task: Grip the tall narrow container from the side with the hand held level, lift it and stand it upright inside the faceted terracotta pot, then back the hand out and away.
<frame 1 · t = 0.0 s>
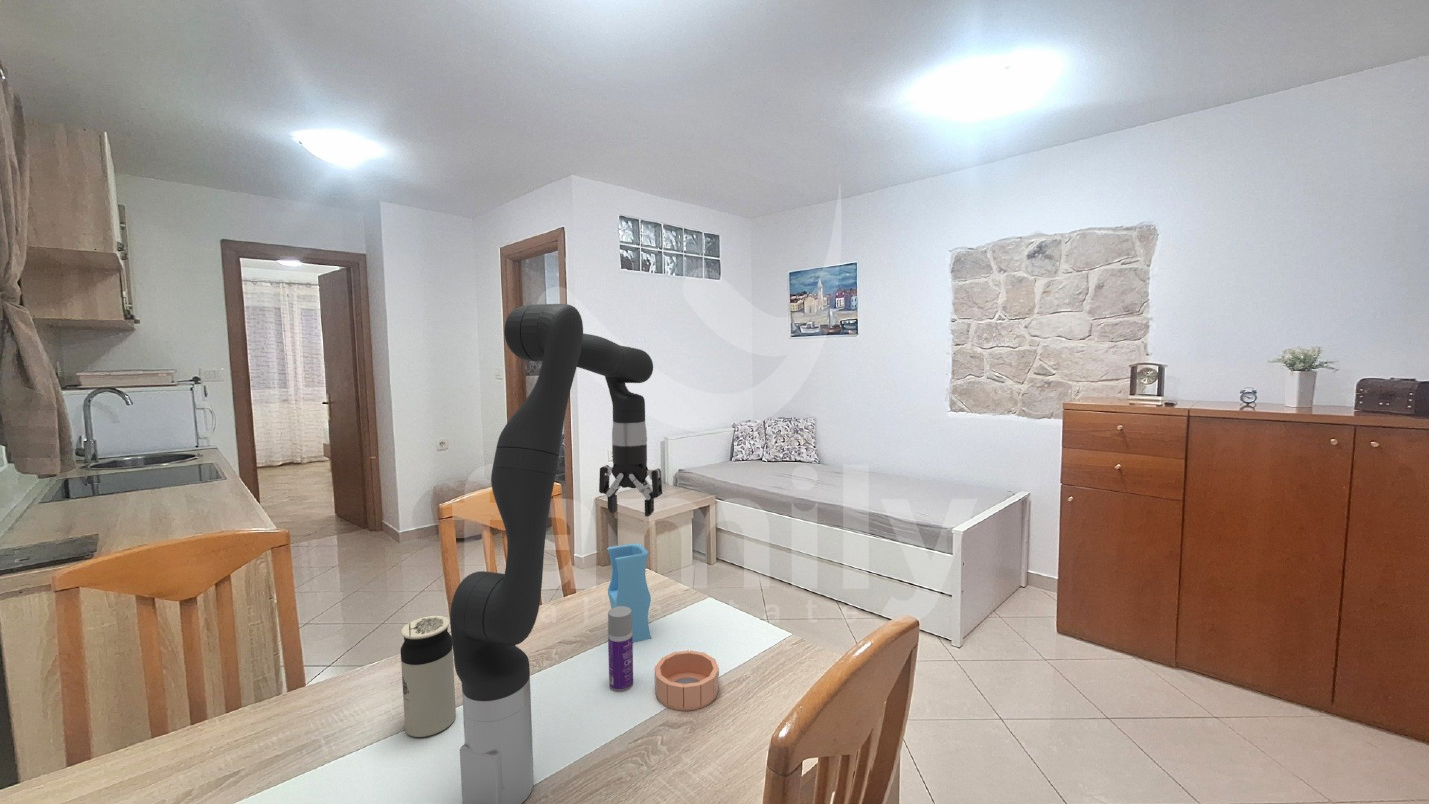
hand: (630, 513, 122), 29 cm above the table, tool pointing down, fingers open, 8 cm apart
faceted terracotta pot: (686, 690, 106), on the table
vase: (629, 635, 127), on the table
container: (621, 685, 108), on the table
travel mug: (431, 724, 97), on the table
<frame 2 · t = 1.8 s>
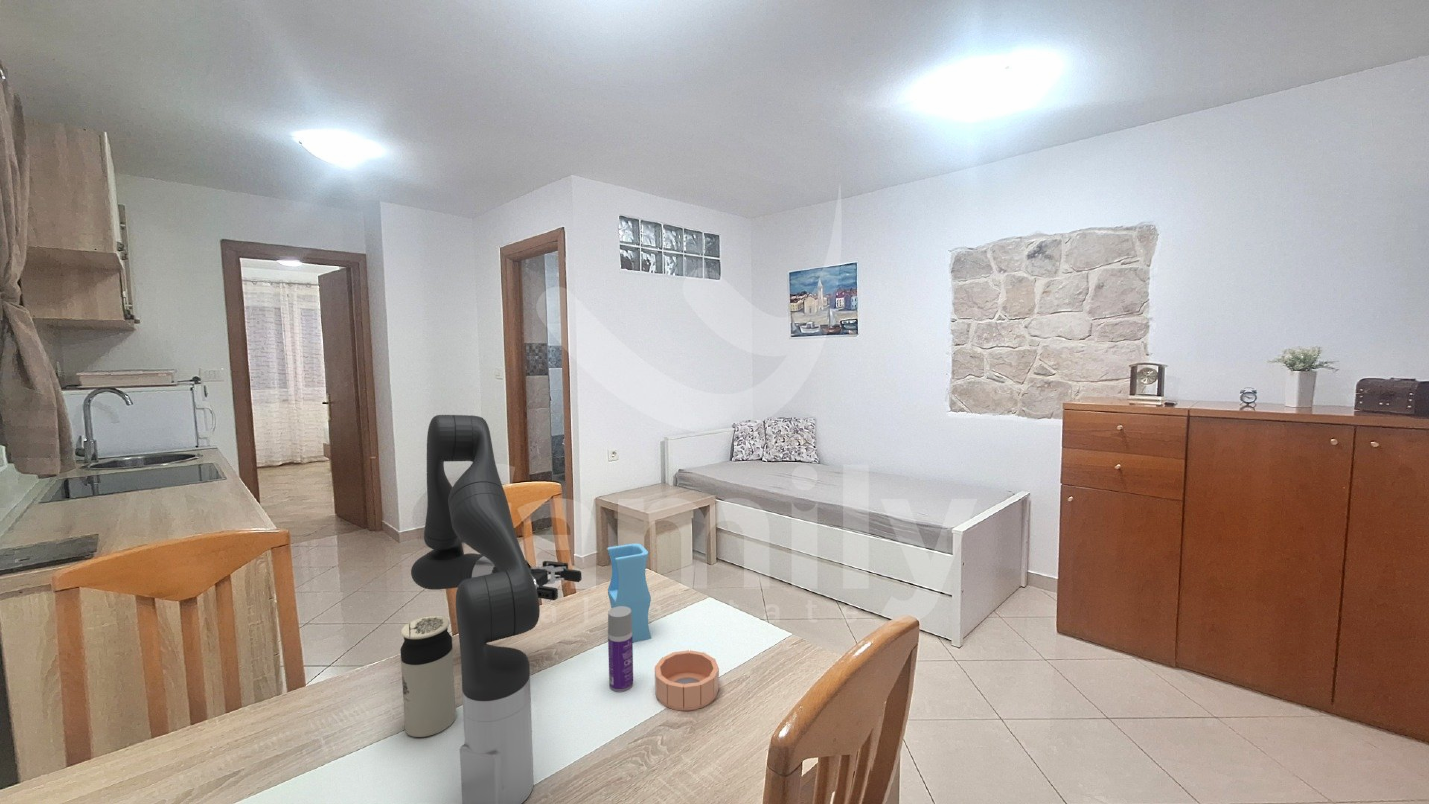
hand: (569, 585, 109), 19 cm above the table, tool horizontal, fingers open, 8 cm apart
nothing on the table moved.
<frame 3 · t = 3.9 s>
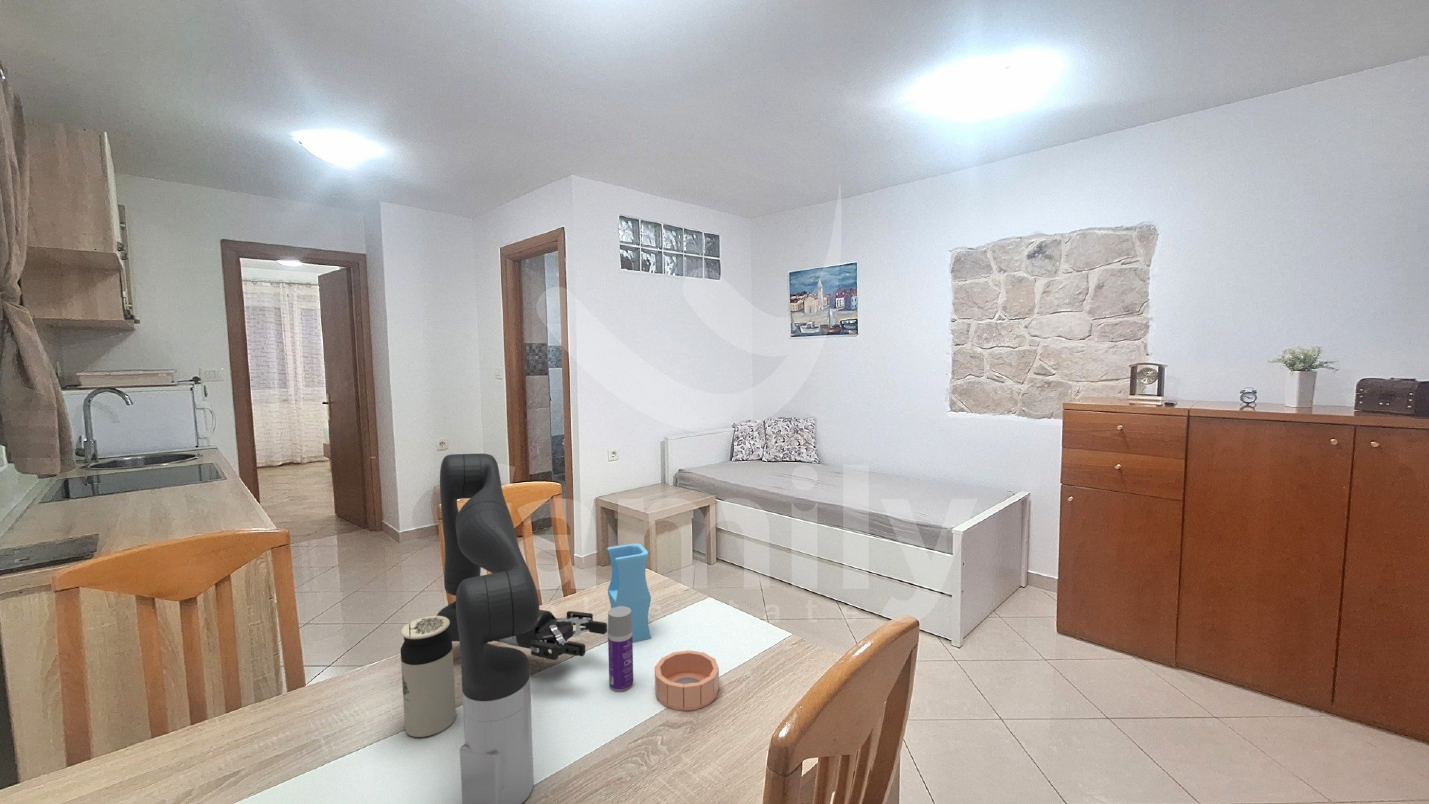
hand: (595, 639, 108), 9 cm above the table, tool horizontal, fingers open, 8 cm apart
nothing on the table moved.
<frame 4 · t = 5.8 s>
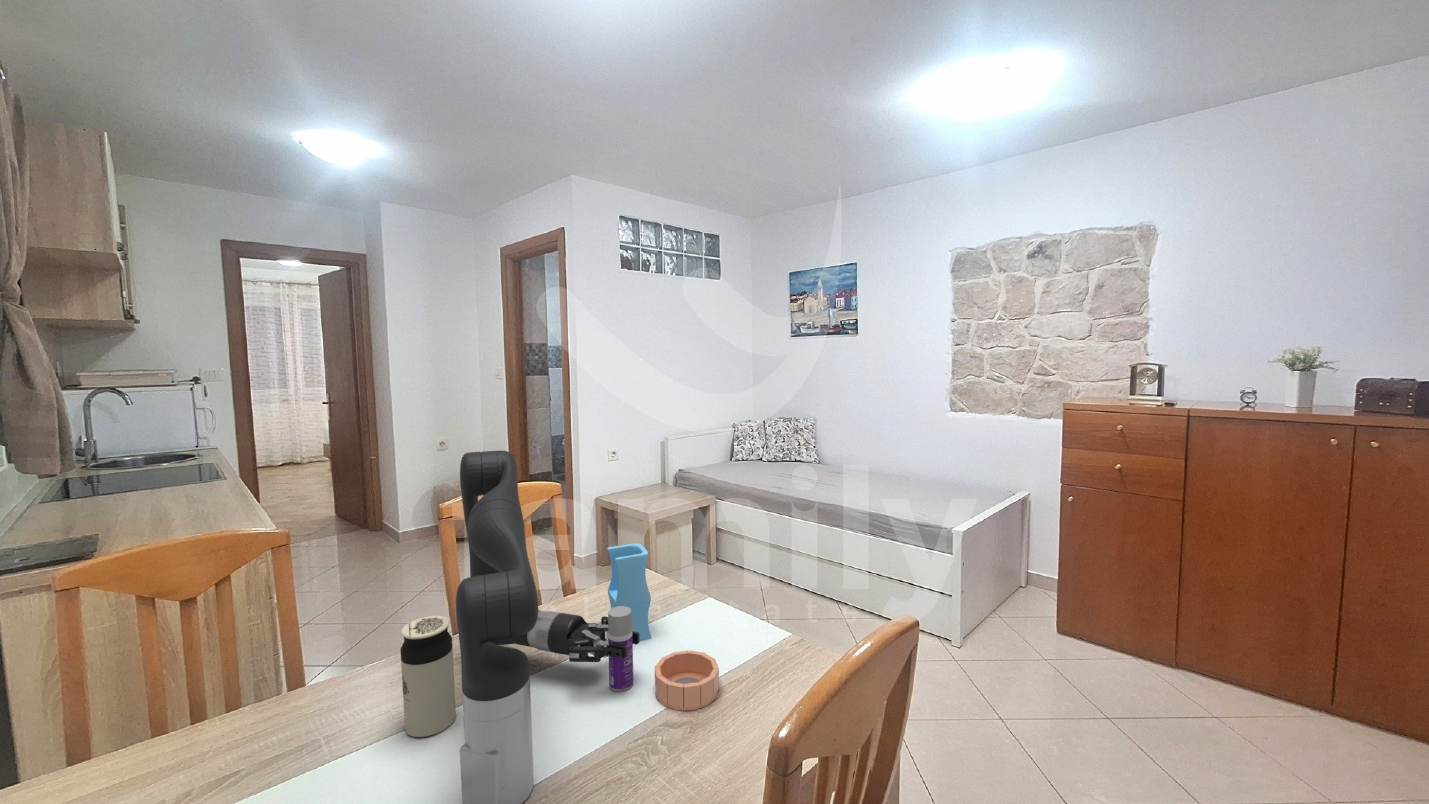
hand: (632, 645, 106), 9 cm above the table, tool horizontal, fingers closed on container, 4 cm apart
container: (621, 685, 108), on the table, touching gripper
everything else where it was.
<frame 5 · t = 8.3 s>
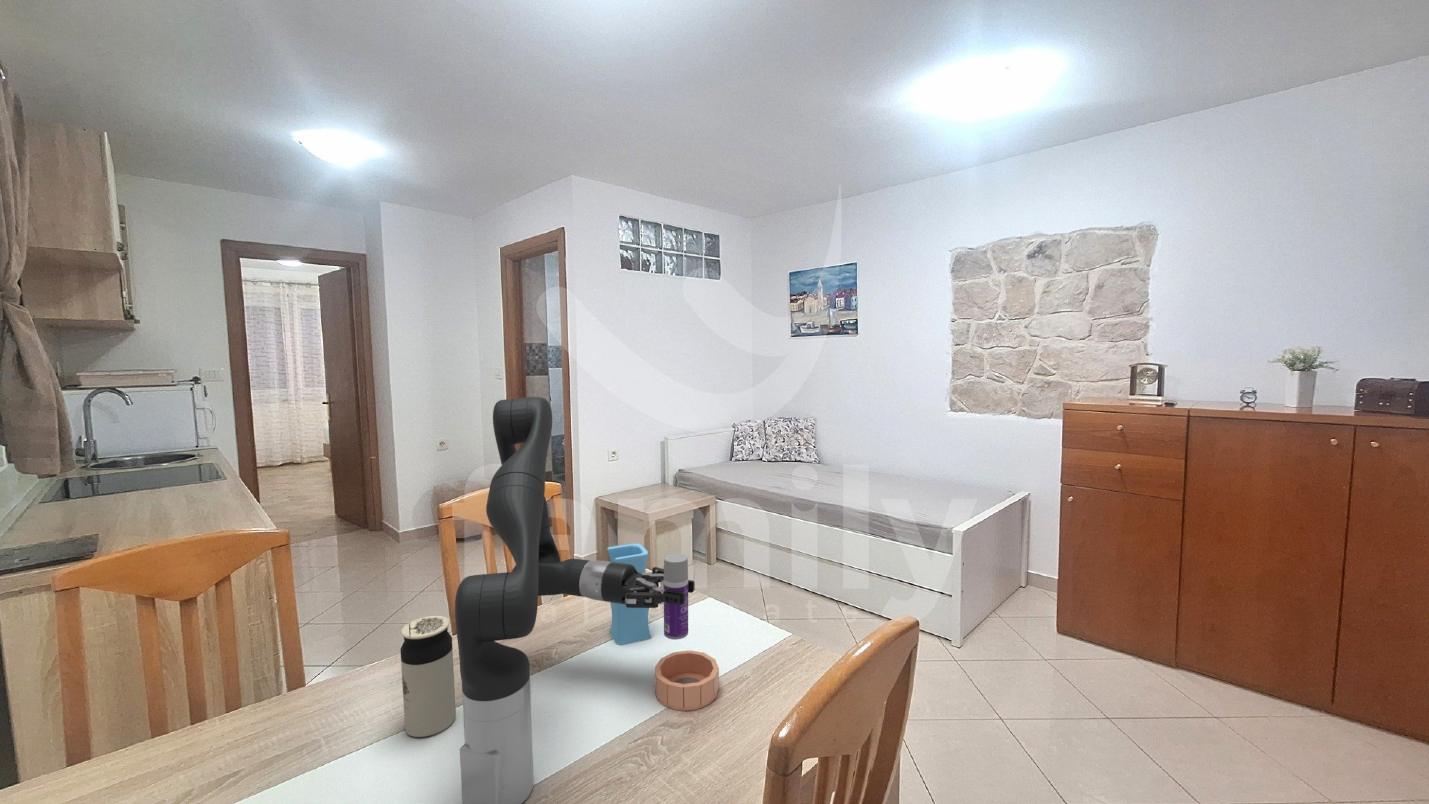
hand: (689, 592, 104), 20 cm above the table, tool horizontal, fingers closed on container, 4 cm apart
container: (676, 634, 105), point 11 cm above the table, touching gripper
everything else where it was.
when the fingers open (10 cm above the table, at t = 11.1 s): container drops 1 cm, resting on faceted terracotta pot.
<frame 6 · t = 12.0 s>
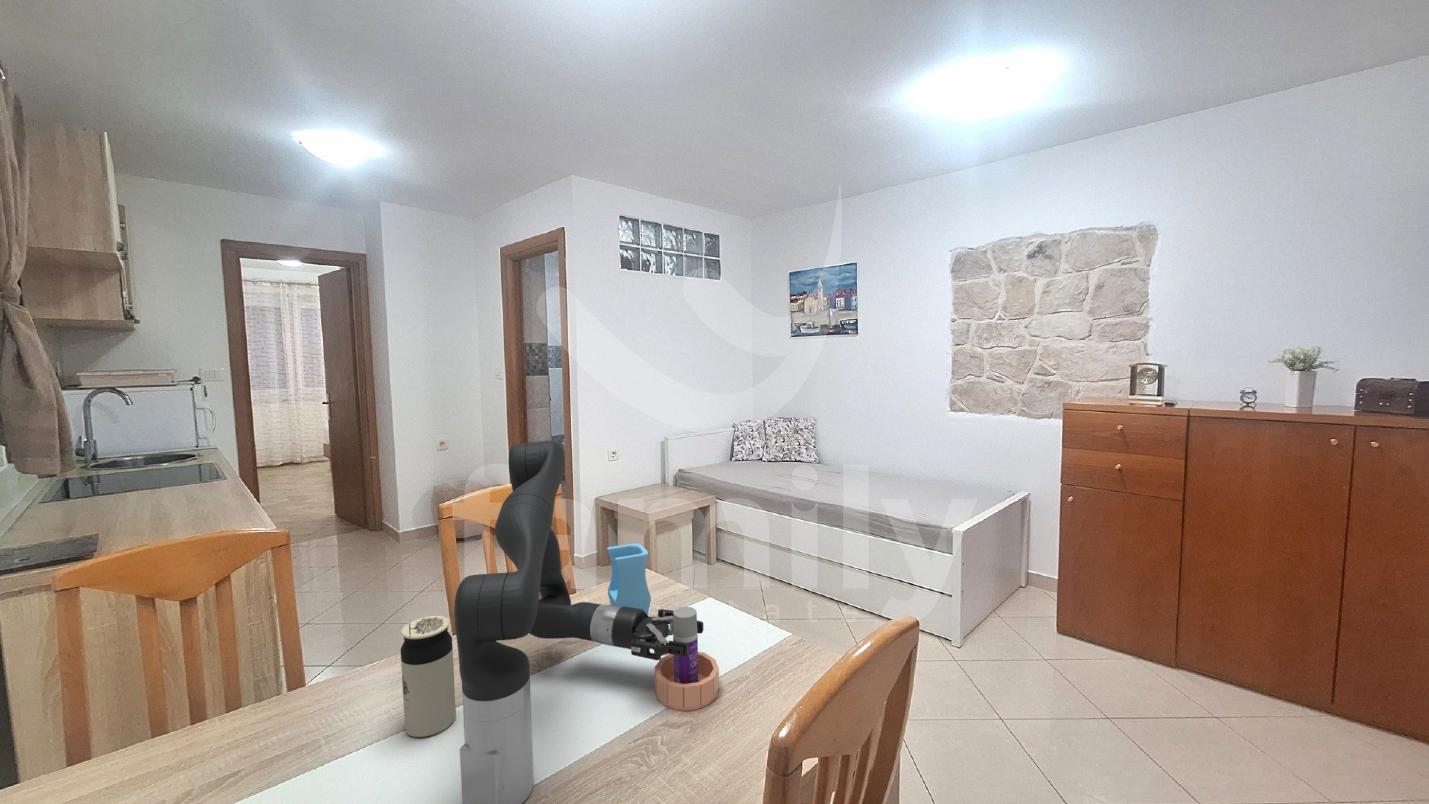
hand: (695, 638, 104), 11 cm above the table, tool horizontal, fingers open, 8 cm apart
container: (686, 687, 106), point 1 cm above the table, touching faceted terracotta pot
everything else where it was.
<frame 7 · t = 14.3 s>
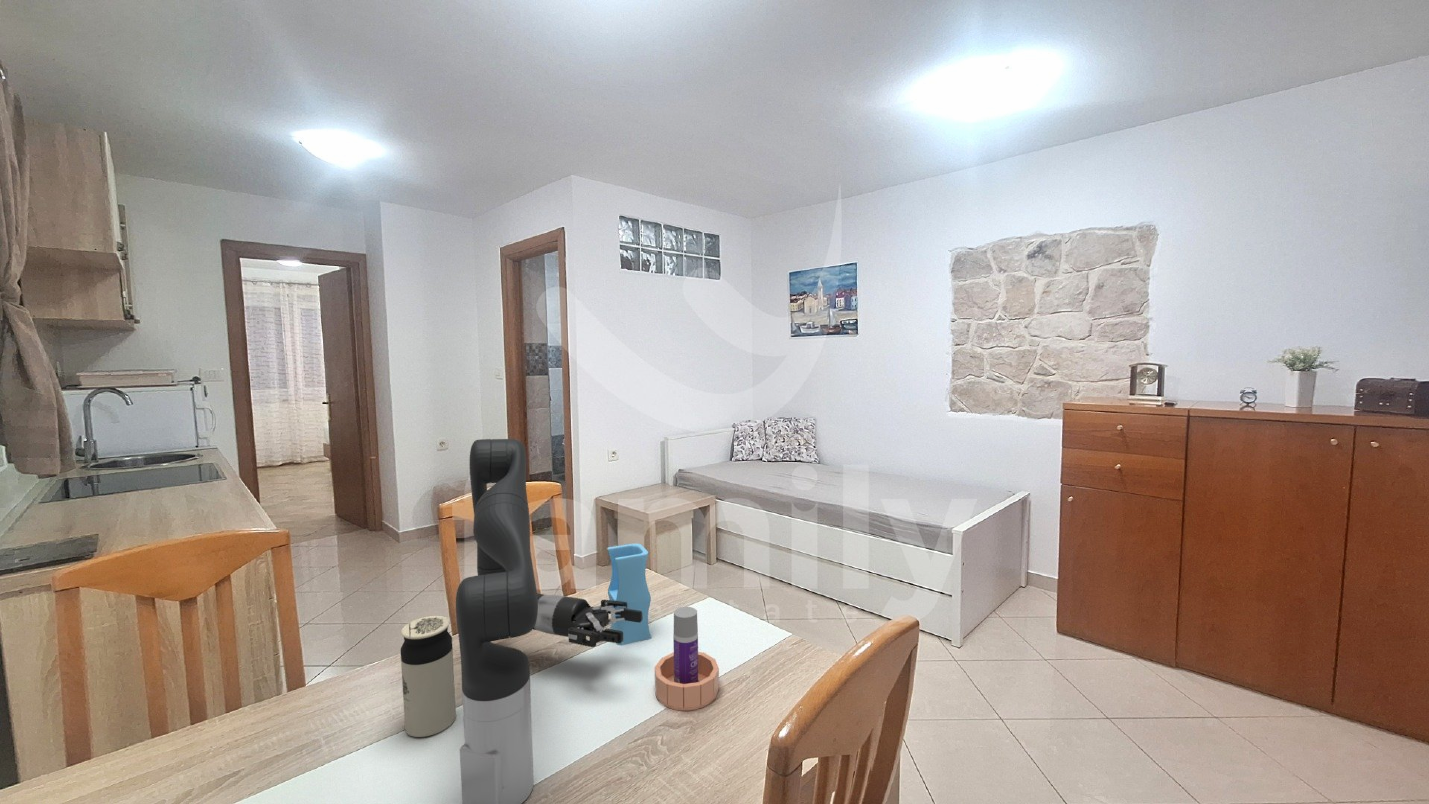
hand: (632, 626, 108), 11 cm above the table, tool horizontal, fingers open, 8 cm apart
nothing on the table moved.
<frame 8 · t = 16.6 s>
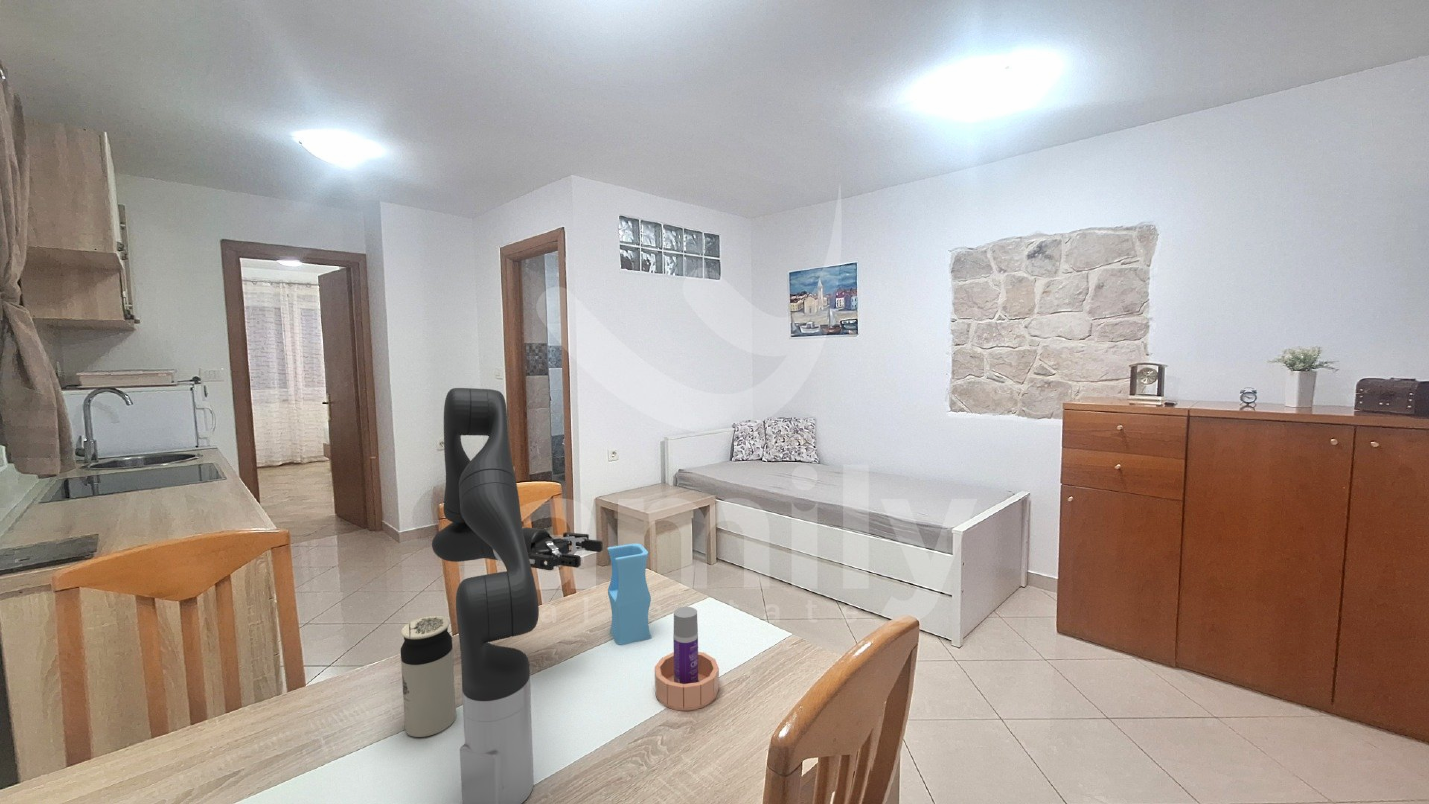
hand: (591, 553, 109), 25 cm above the table, tool horizontal, fingers open, 8 cm apart
nothing on the table moved.
at the end: container 0.1 cm off-centre on the faceted terracotta pot, point 0.6 cm above the faceted terracotta pot's base; container tilted 0°; the gripper is holding nothing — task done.
